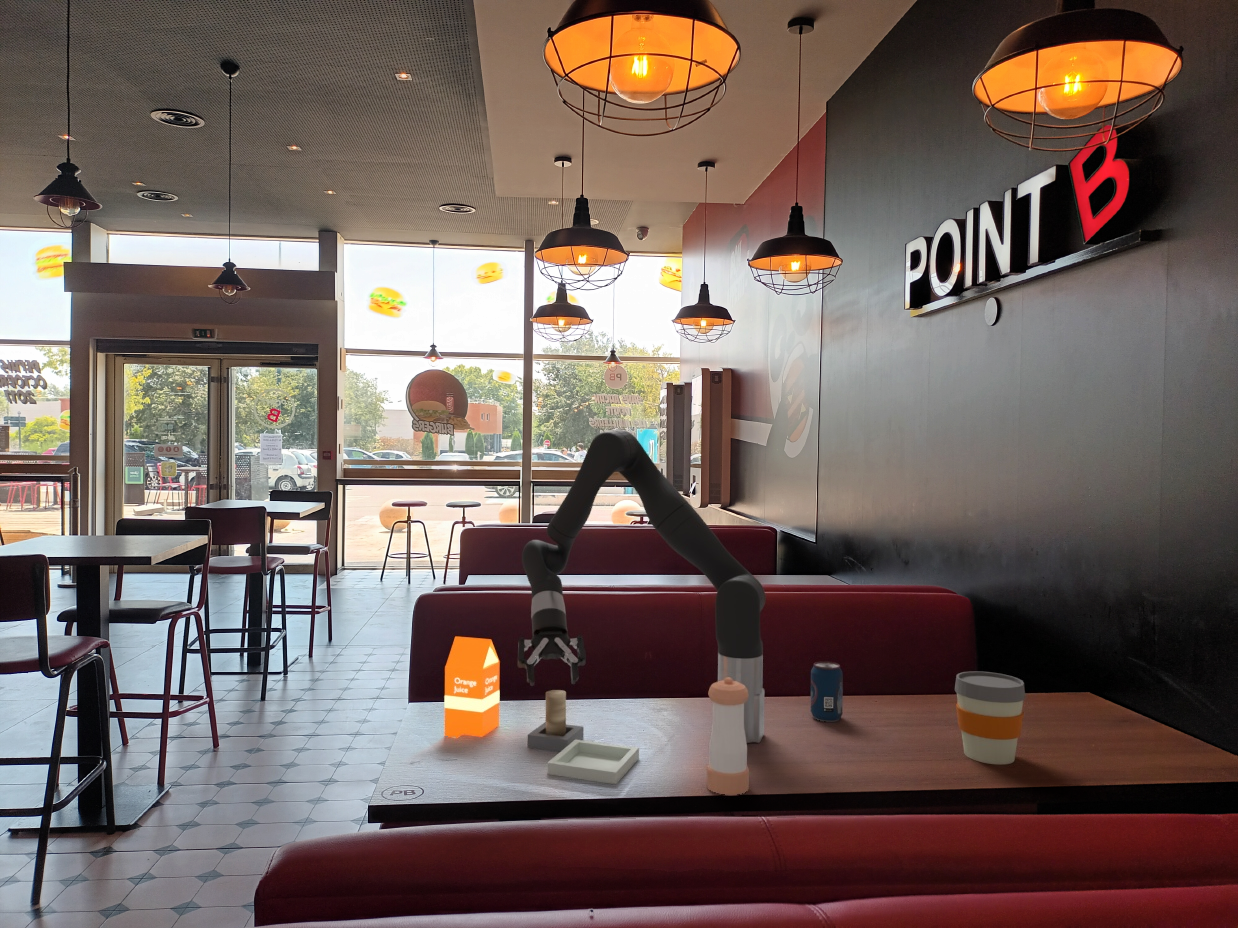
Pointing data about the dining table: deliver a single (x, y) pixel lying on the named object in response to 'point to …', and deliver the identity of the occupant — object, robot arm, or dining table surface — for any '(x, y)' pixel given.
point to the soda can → (826, 691)
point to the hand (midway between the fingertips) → (553, 682)
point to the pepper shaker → (728, 739)
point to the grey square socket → (553, 738)
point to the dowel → (556, 712)
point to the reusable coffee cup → (989, 715)
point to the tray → (593, 761)
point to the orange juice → (471, 688)
